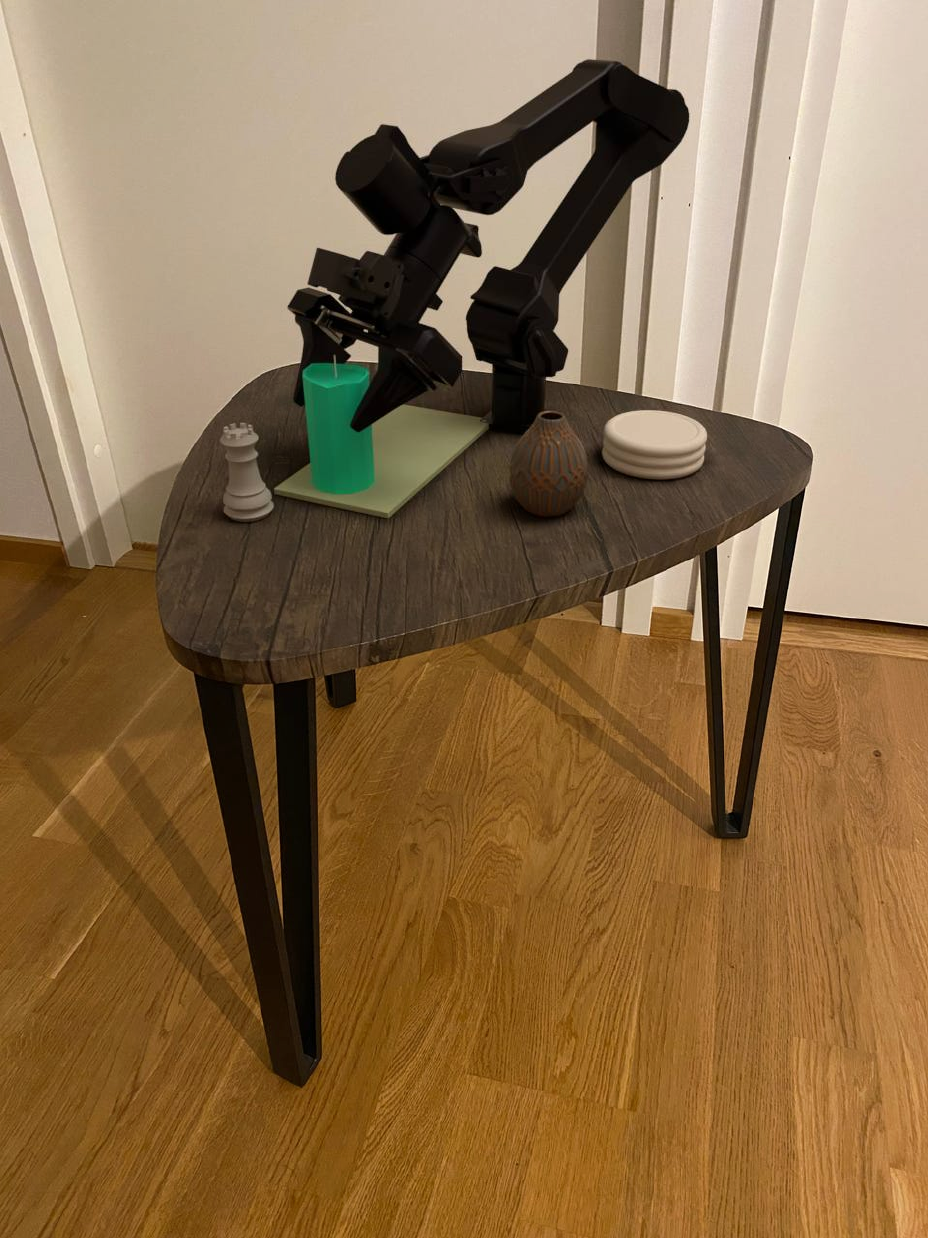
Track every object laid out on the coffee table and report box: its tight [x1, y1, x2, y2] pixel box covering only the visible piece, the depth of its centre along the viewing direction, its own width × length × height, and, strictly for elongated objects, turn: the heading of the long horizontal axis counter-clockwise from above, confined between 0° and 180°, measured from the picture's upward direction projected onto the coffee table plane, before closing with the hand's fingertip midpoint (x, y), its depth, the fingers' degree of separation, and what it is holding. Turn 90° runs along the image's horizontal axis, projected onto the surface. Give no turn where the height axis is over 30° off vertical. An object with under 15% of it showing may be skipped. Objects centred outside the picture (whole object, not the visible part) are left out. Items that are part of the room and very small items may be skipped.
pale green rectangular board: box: [273, 404, 492, 519], centre depth 98 cm, size 24×12×1 cm, turn 156°
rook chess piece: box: [219, 422, 275, 523], centre depth 86 cm, size 4×4×8 cm
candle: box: [303, 355, 375, 494], centre depth 89 cm, size 6×6×12 cm
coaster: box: [601, 409, 708, 480], centre depth 97 cm, size 10×10×4 cm
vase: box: [509, 410, 589, 518], centre depth 87 cm, size 7×7×9 cm
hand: (324, 416), depth 88 cm, fingers open, 8 cm apart
